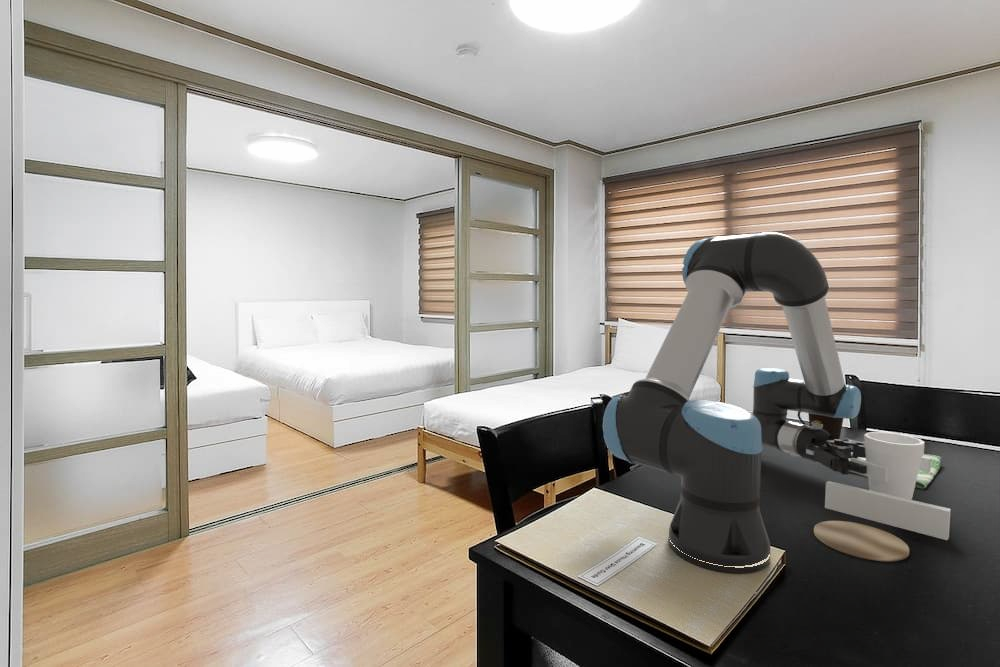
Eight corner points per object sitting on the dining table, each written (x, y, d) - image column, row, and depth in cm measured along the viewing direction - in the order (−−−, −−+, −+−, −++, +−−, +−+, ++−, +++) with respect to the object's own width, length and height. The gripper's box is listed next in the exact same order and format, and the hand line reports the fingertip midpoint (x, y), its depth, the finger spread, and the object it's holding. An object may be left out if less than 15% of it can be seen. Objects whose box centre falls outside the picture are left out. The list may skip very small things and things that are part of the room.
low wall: (947, 540, 85) (949, 511, 85) (824, 507, 98) (825, 482, 98) (948, 537, 86) (950, 508, 86) (827, 505, 100) (828, 480, 99)
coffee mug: (850, 449, 137) (852, 412, 136) (818, 449, 137) (819, 412, 136) (823, 437, 148) (825, 403, 147) (793, 437, 148) (795, 403, 148)
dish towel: (829, 470, 122) (830, 459, 121) (857, 450, 137) (858, 440, 137) (925, 491, 108) (926, 479, 108) (944, 467, 123) (945, 456, 123)
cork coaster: (900, 570, 76) (900, 566, 76) (803, 540, 85) (803, 536, 85) (915, 542, 85) (916, 538, 85) (826, 517, 94) (826, 514, 94)
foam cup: (866, 489, 108) (869, 429, 107) (923, 502, 101) (926, 438, 100) (856, 502, 101) (860, 438, 100) (916, 516, 95) (920, 448, 94)
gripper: (840, 451, 123) (945, 480, 103) (766, 464, 113) (866, 499, 93) (841, 420, 122) (947, 443, 103) (767, 431, 112) (868, 459, 93)
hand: (909, 470), depth 98 cm, fingers open, 13 cm apart
